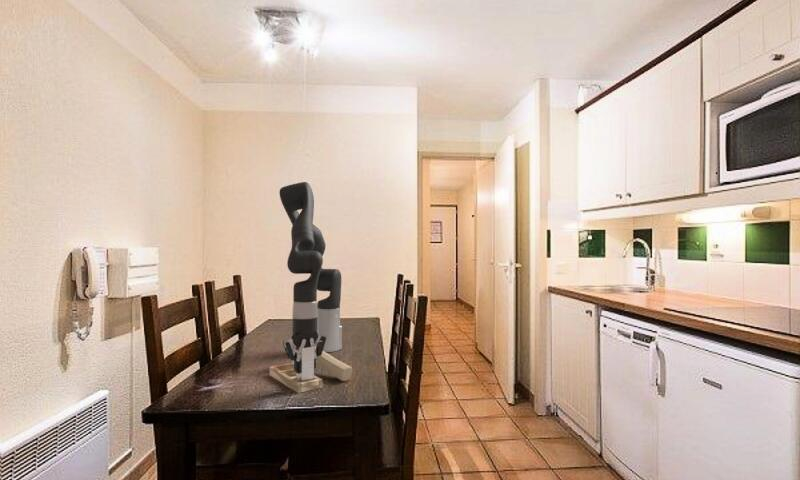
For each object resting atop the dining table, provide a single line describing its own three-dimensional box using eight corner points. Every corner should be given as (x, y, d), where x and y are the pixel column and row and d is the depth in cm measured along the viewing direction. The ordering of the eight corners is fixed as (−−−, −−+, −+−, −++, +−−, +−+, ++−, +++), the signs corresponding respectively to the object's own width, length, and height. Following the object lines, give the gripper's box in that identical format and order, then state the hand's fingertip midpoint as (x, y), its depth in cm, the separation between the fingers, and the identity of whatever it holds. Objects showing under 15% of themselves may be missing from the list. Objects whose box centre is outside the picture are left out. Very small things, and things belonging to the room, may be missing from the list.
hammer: (356, 350, 145) (301, 318, 164) (345, 353, 141) (290, 320, 161) (348, 396, 147) (295, 359, 166) (337, 399, 143) (284, 361, 163)
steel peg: (308, 382, 141) (308, 344, 141) (313, 385, 138) (314, 346, 138) (296, 384, 139) (296, 345, 139) (301, 388, 136) (301, 348, 136)
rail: (292, 371, 155) (292, 363, 155) (322, 387, 138) (322, 378, 138) (269, 375, 150) (269, 366, 150) (298, 393, 133) (298, 383, 133)
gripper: (320, 312, 146) (320, 365, 146) (278, 316, 137) (277, 373, 137) (331, 315, 140) (331, 370, 140) (288, 319, 131) (288, 379, 131)
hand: (304, 371), depth 138 cm, fingers closed on steel peg, 4 cm apart
